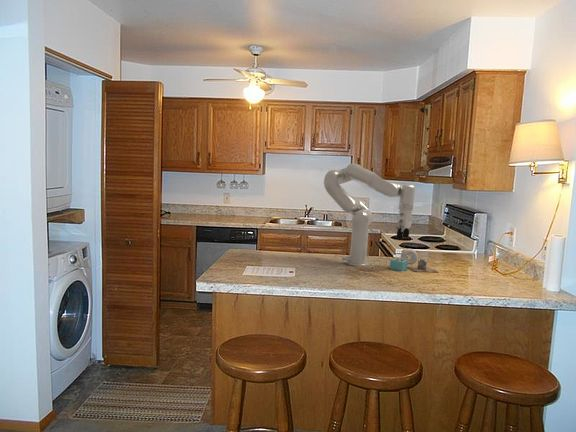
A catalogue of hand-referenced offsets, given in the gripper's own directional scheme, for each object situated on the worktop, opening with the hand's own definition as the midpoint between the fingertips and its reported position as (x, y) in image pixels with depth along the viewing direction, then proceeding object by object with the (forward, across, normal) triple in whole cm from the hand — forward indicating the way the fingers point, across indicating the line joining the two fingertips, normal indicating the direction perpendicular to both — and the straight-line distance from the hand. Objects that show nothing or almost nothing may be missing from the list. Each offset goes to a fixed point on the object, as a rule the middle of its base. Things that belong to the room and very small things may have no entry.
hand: (402, 237), depth 244 cm
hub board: (+18, +8, -10) cm, 23 cm away
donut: (+19, +21, +2) cm, 28 cm away
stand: (+19, -1, 0) cm, 19 cm away
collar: (+18, -1, 0) cm, 18 cm away
